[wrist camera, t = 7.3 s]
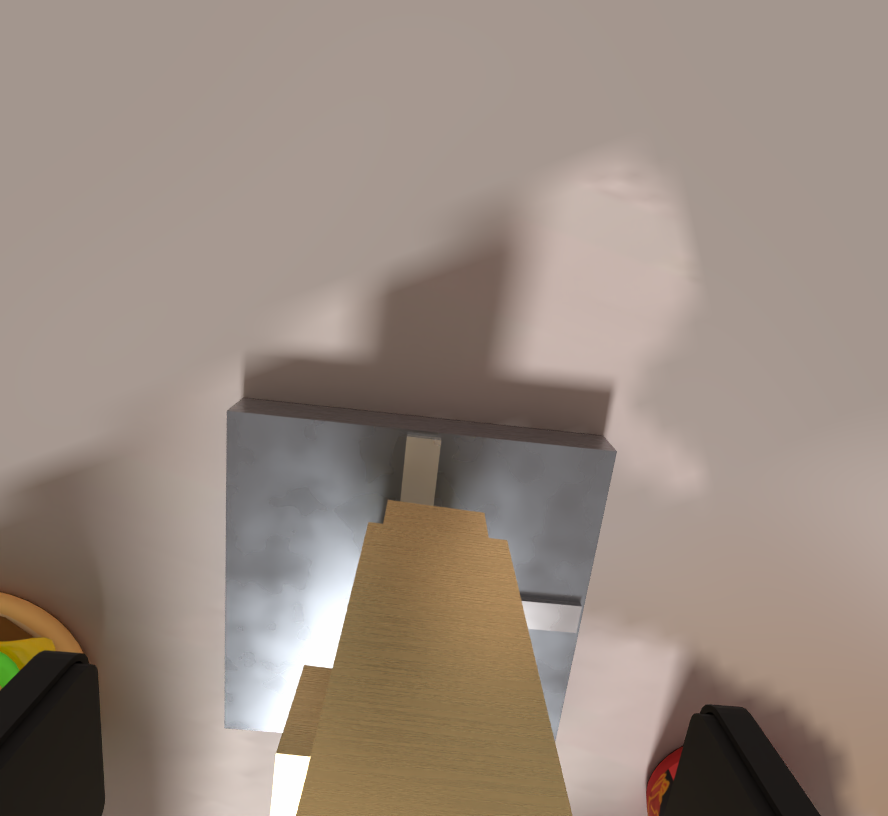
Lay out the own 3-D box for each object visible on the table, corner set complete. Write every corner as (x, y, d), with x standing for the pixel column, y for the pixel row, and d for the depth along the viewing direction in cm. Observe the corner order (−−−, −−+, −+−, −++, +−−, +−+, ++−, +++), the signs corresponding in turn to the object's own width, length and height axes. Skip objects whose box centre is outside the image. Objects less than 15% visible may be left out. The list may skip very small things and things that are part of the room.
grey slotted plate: (238, 696, 29) (154, 887, 20) (243, 397, 25) (137, 480, 16) (545, 721, 30) (589, 917, 21) (603, 435, 25) (689, 535, 17)
